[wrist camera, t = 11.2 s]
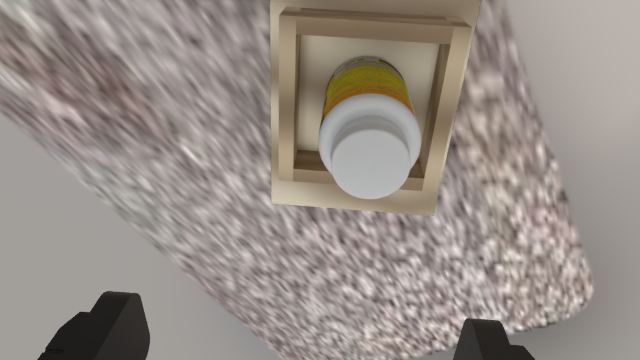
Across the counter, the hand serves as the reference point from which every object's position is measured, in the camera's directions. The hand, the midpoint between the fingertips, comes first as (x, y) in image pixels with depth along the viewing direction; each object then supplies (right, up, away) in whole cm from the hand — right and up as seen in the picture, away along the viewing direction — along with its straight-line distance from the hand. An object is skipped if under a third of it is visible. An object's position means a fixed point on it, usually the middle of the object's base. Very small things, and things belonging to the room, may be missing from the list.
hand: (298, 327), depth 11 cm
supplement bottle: (+4, +10, +19) cm, 22 cm away
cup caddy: (+4, +10, +20) cm, 23 cm away
